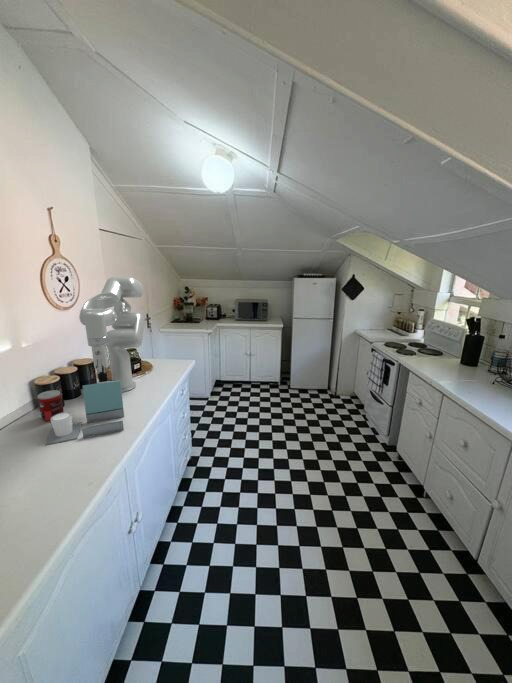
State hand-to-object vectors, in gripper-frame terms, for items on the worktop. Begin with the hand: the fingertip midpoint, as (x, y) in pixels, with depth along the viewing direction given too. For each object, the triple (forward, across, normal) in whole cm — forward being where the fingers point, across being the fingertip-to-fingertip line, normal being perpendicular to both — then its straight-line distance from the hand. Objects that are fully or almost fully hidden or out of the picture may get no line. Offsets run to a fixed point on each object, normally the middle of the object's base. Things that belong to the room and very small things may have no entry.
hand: (103, 381), depth 125 cm
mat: (+14, -14, +14) cm, 24 cm away
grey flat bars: (+14, -14, 0) cm, 20 cm away
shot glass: (+14, -14, +14) cm, 24 cm away
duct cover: (+4, -8, 0) cm, 9 cm away
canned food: (+14, +2, +21) cm, 26 cm away
